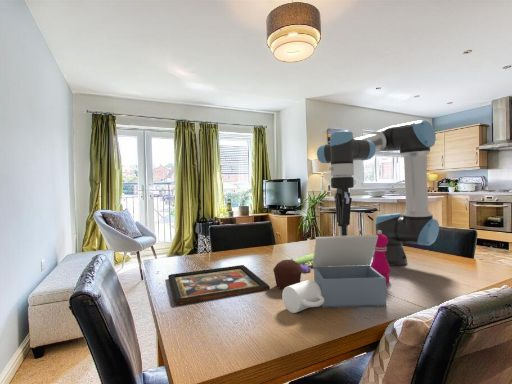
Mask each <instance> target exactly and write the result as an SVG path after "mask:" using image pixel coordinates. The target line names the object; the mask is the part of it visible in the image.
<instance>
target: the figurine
mask: <svg viewBox="0 0 512 384" xmlns="http://www.w3.org/2000/svg"><path fill="white" fill-rule="evenodd" d="M313 258H314V253H310V254H306V255H303V256H300V257H298V258H295V259H294V261H295V262H297V263H298V264H299V265H300V266H301V267H302V270H303V271H302V272H303V273H308V272H311V269H312V267H313ZM289 260H293V258H290V259H289Z"/></svg>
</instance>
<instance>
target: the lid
mask: <svg viewBox="0 0 512 384" xmlns="http://www.w3.org/2000/svg"><path fill="white" fill-rule="evenodd" d="M377 239H378V235H376V234H369V235H363V234H362V235H348V236H339V235H338V236H337V235H336V236H334V235H333V236H316V237H315V243H314V252H313V254H314V258H313V261H312V263H313V264H312V267H313V268H314V267H333V266H367V265H369V266H371V264H372V261H373V253H374V250H375V246H376V243H377Z"/></svg>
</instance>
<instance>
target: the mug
mask: <svg viewBox="0 0 512 384" xmlns="http://www.w3.org/2000/svg"><path fill="white" fill-rule="evenodd" d="M281 299H282V301H283V304H284V307H285V308H286V310H287V311H289V313H291V314H296V313H298V312H301V311H304V310H307V309H308V308H309V309H310V308H317V307H320V306H321V307H322V304H323V303H324V298H323V297H322V293H321V290H320V287H319V286H318V284H317V283H316V282H315V281H314V279H307V280H303V281H300V283H297V284H294V285H290V286H287V287H285V288H284V290H282V295H281Z"/></svg>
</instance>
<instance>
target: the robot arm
mask: <svg viewBox="0 0 512 384" xmlns="http://www.w3.org/2000/svg"><path fill="white" fill-rule="evenodd" d="M329 138H330V139H329V140H330V142H329V143H328V144H326V143H325V144H323V145H320V146H319V147H318V148H317V151H316V156H317V157H316V158H317V160H318V161H319V162H320V163H321V164H330V166H329V171H330V176H331V178H330V188H332V189H336V192H335V194H334V201H335V202H334V203H335V215H336V223H337V226H338V236H349V235H348V234H349V233H348V229H349V228H348V226H350V225H351V224H350V223H351V210H352V209H351V207H352V206H351V205H352V201H353V200H352V199H353V198H352V197H351V195H350V193H349V192H350V191H349V189H353V188H354V187H355V186H354V185H355V184H354V183H355V182H354V181H355V180H354V177H353V176H354V175H355V174H354V170H355V169H354V167H355V166H354V164H355V163H354V161H368V160H371V159H372V158H373V157H374V156H375V154H376V153H380V152H392V151H393V152H394V151H399V155H400V156H402V157H403V164H404V166H403V167H404V169H403V170H404V188H405V189H404V191H405V208H406V209H405V211H404V212H403V213H401V212H400V213H386V214H385V213H384V214H379V215H377V216H376V217H375V223H374V224H375V235H376V234H377V231H378V230H381V231H382V234H383V235H385V236H386V237H387V239H388V243H387V245H386V247H387V248H386V249H387V250H386V251H385V256H386V260H387V262H388V264H389V266H402V265H406V264H407V263H408V257H407V254H406V251H405V250H404V247H403V245H404V244H403V243H408V244H413V245H414V244H415V245H418V246H419V245H420V246H431V245H432V244H434V243H435V242H436V240H437V238H438V237H439V232H440V223H439V221H438V220H437V219H435V218H433V213H432V212H431V211H430V210H429V195H428V194H429V192H428V170H427V168H428V167H427V155H428V154H429V153H430V152H431V148H432V147H433V146H434V145H435V144H436V141H437V139H436V132H435V128H434V127H433V125H432V124H431V122H429V121H428V120H425V119H424V120H414V121H410V122H405V123H400V124H394V125H390V126H387V127H384V128H381V129H379V130H375V131H372V132H371V133H369V135H364V136H358V137H355V138H354V133H353V132H352V131H351V130H337V131H333V132H332V133H330V137H329ZM374 256H375V252H374V253H373V256H372V260H373V259H374Z"/></svg>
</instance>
